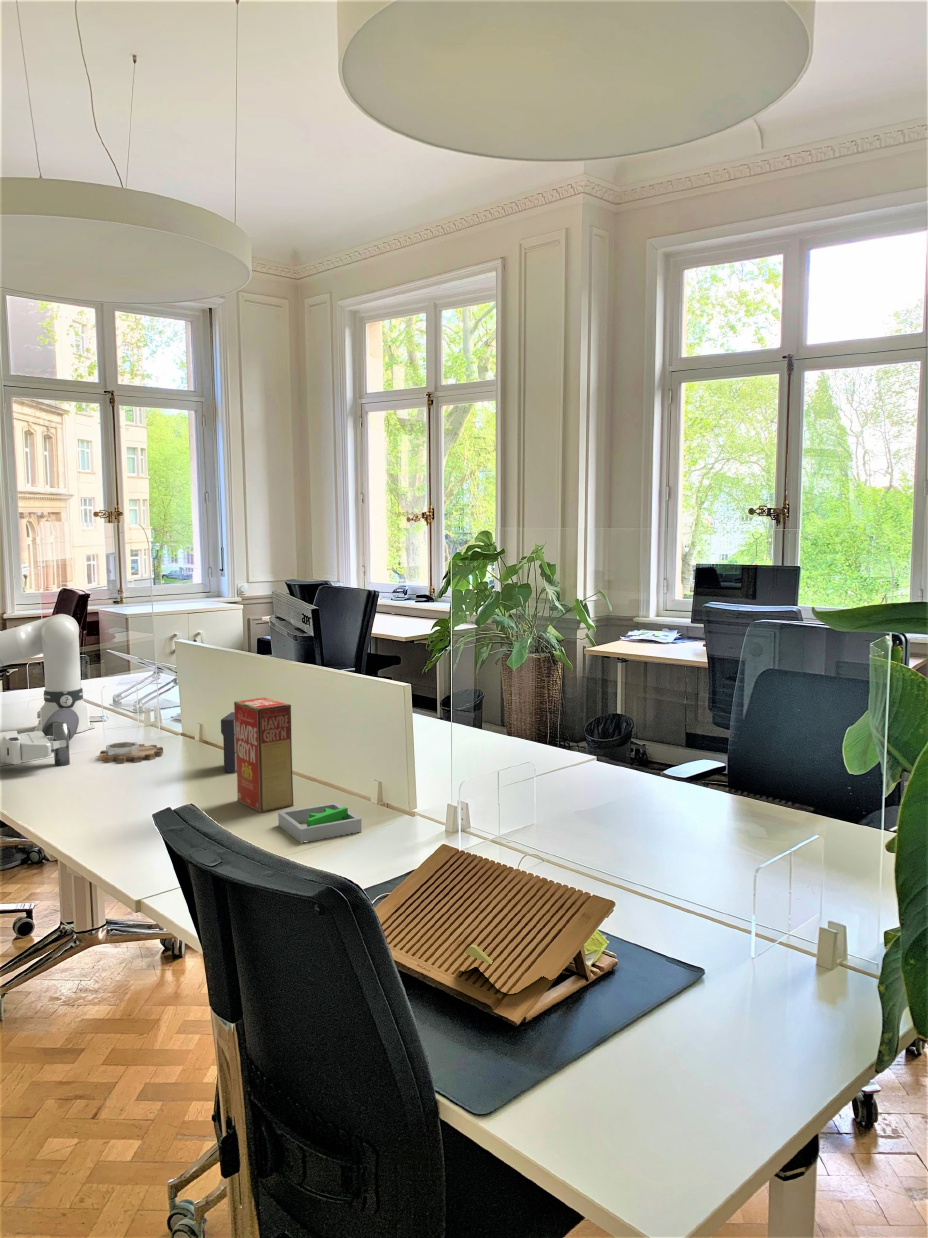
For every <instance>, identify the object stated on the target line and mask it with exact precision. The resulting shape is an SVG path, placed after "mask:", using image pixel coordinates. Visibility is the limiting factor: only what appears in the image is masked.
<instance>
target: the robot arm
mask: <svg viewBox="0 0 928 1238" xmlns="http://www.w3.org/2000/svg"><path fill="white" fill-rule="evenodd" d="M79 638H80V626H79V624H78V622H77V620H76V619H75V618H74V617H72V616H70V615H68V614H65V613H58V614H55V615H51V616H47V617H45V618H40V619H38V620H34V621H31V622H28V623H24V624H21V625H19V626H16V627H15V626H14V627H12V628H8V629H4V630H2V631H1V630H0V668H1V667H4V666H5V667H6V666H8V665H11V664H15V663H17V662H22V661H24V660H29V659H31V658H34V657H37V656H40V655H41V654H42V658H43V670H44V688H45V689H44V690H43V702H44V703H43V705H41V707H40V710H38V711H37V712H36V714H37V715H36V717H37V719H39V720H38V723H37V724H36V727H35V729H34V731H28V732H22V733H18V731H17V730H11V731H10V730H9V731H0V765H5V764H11V765H20V764H22V762H27V761H34V760H39V759H45V758H49V757H51V756H52V750H54V749H56V748H59V747H65V746H66V740H59V741H54V739H53V736H45V735H44V733H43V732H42V729H43V726H44V724H45V723H46V721H47V720H48V718H49V717H50V716H51V715H52V714H53V713H54V712H55V711H57V710H59V709H62V708H70V709H72V710H74V711H75V712H76V713H77V715H78V717H79V725H78V728H77V731H76V733H82V732H86V731H88V730H92V729H95V728H96V724H94V723H93V722H92V723H91V722H90V713H89V712H90V711H89V704H88V703H87V702H85V701H84V700H83V699H84V690H83V688H82V679H81V678H82V677H81V675H82V674H81V673H82V672H81V657H80V655H81V654H80V640H79ZM76 733H75V734H76Z"/></svg>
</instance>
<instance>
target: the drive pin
mask: <svg viewBox="0 0 928 1238" xmlns="http://www.w3.org/2000/svg"><path fill="white" fill-rule="evenodd" d="M53 739H54V741H59V740H66V746H65V747H59V748H56V749H53V758H54V759H53V760H54V767H55V766H56V767H64V766H69V765H71V761H70V760H71V756H70V741H69V730H68V722H55V723H53Z"/></svg>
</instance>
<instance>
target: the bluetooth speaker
mask: <svg viewBox="0 0 928 1238" xmlns="http://www.w3.org/2000/svg"><path fill="white" fill-rule="evenodd" d="M55 722H68V730H69V742H70V741H71V740H72V739H73V737H75V735H76V731H77V728H78V725H79V717H78V715H77V713H76V712H75V711H74V710H72V709H70V708H62V709H59V710H57V711H55V712H54V713H53V714H52V715H51V716H50V717H49V718H48V720H47V721H46V723H45V724H44V726H43V729H42V732H43V733H44V735H45V736H53V723H55Z"/></svg>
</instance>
